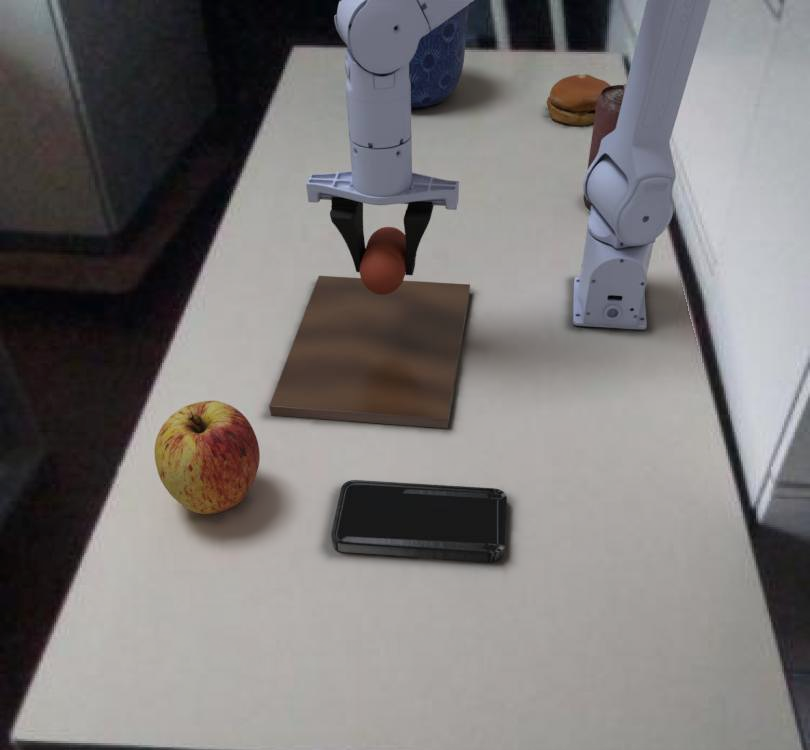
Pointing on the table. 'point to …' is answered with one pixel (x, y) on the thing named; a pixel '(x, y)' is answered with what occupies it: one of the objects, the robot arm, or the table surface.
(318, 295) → the board
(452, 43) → the planter
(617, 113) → the can
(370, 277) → the sweet potato
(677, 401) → the table surface
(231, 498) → the apple
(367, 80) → the robot arm
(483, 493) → the phone
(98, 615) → the table surface
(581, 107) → the burger
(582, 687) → the table surface
